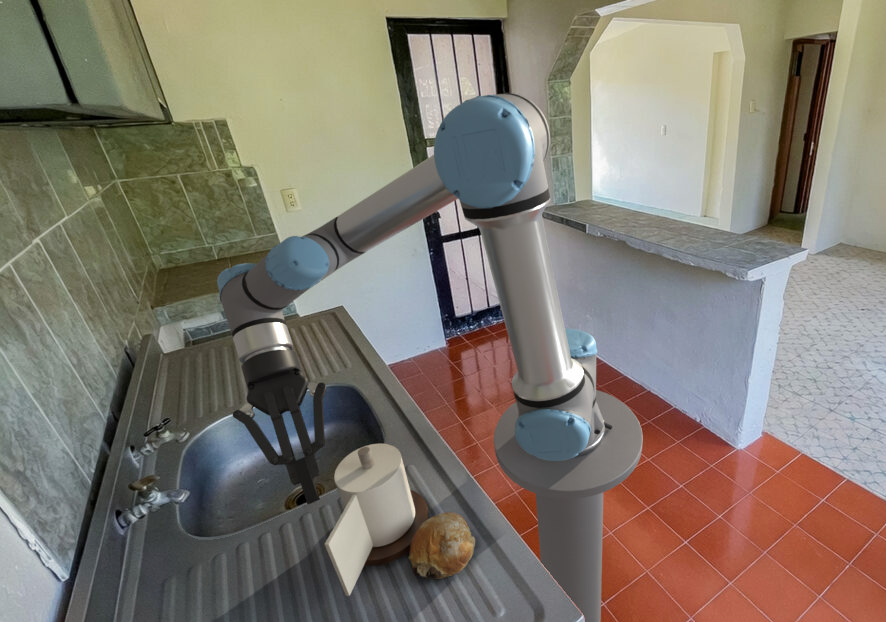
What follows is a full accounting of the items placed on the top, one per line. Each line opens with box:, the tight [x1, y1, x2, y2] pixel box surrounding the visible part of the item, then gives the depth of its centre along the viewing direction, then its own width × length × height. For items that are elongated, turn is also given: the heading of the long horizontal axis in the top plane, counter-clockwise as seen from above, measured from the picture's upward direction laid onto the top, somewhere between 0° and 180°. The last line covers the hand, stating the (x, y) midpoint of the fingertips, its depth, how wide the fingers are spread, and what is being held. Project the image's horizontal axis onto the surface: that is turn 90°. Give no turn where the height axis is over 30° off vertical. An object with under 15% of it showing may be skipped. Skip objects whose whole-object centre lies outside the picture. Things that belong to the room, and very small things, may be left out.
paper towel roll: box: [324, 443, 415, 597], centre depth 71 cm, size 18×10×12 cm, turn 159°
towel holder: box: [358, 446, 430, 567], centre depth 74 cm, size 14×14×18 cm
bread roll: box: [407, 511, 476, 580], centre depth 72 cm, size 10×10×8 cm
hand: (313, 501), depth 67 cm, fingers closed
